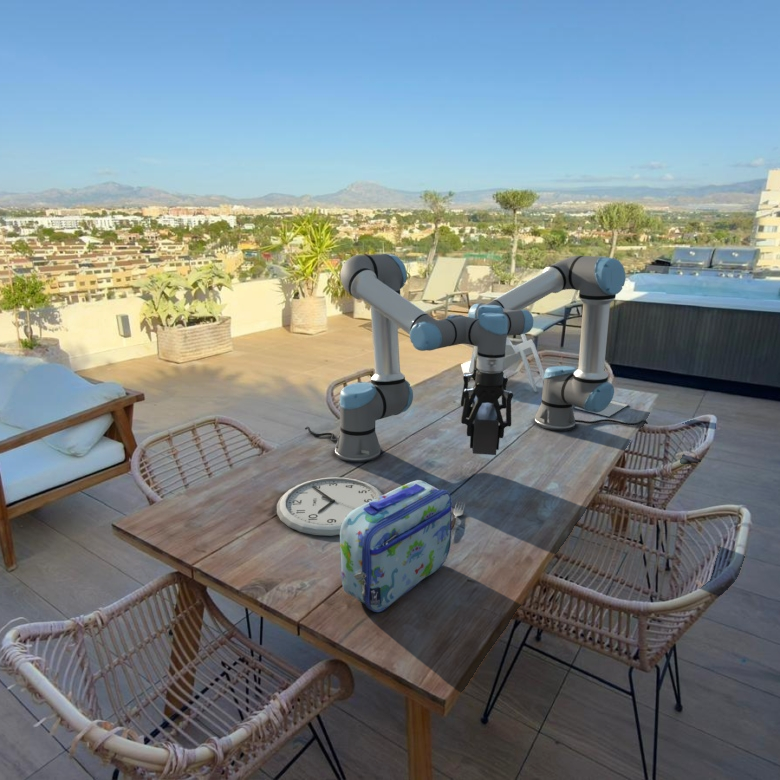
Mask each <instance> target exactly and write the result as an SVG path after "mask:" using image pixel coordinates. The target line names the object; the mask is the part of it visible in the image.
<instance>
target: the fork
mask: <svg viewBox="0 0 780 780" xmlns="http://www.w3.org/2000/svg"><path fill="white" fill-rule="evenodd" d="M458 501H459V500H457V501H456V504H455V507H454V509H453V514H452V515H454V517H453V519H451V531H452V530H453V529H454V527H455V525H456V520H457V517H461V516H463V514H464V511H465V505H466V502H463V501H459V502H458ZM460 504H461V505H460Z"/></svg>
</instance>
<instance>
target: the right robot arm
mask: <svg viewBox="0 0 780 780" xmlns="http://www.w3.org/2000/svg"><path fill="white" fill-rule="evenodd" d="M625 283H626V269H625V267H624V265H623V263H622V262H621V261H620V260H619V259H617V258H614V257H608V256H593V255H592V256H591V255H573V256H569V257H566V258H563V259H561V260H559V261H557V262H555V263H553V264H550V265H549V266H547V267H545V268H544V269H543V270H542V272H541V273H539V274H538V275H536V276H534V277H532V278H531V279H529V280H527V281H525V282H523V283H522V284H520V285H518V286H516V287H514V288H511V290H509V291H507V292H504V293H503V294H501V295H499V296H498V297H496V298H494V299H492V300H491V301H488V302H486V303H483V302H481V303H475V304H473V305H471V306H470V308H469V310H468V314H467V317H471V318H476V319H480V316H481V314H483V313H499V314H504V315H505V316H506V317H507V319H508V326H507V329H508V333H507V337H511V336H517V335H518V336H521V334H525V335H526V334H529V332H531V330H532V329H533V327H534V316H533V314H532V313H531V312H530V311H529V310H528V309H525V308H527V307H529V306H531V305H533V304H535V303H536V302H539V301H540V300H542V299H543V298H545V297H547V296H549V295H550V294H557V293H560V292H562V291H567V290H575V291H578V299H579V300H580V301H581V302H582V313H581V314H582V315H581V327H580V328H581V329H580V340H579V355H578V368H577V367H574V366H569V365H568V366H567V365H557V366H550V367H547V368H546V369H545V370H544V373H545V375H544V378H543V379H544V380H543V382H542V392H541V402H540V405H539V407H538V410H537V411H536V413H535V416H534V424H535V425H536V426H537V427H539V428H542V429H544V430H549V431H556V432H567V431H572V430H574V429H575V428H576V423H580V424H581V423H582V424H588V425H589V424H591V425H593V424H597V423H602V422H603V423H604V422H608V423H609V422H610V423H616V424H621V425H625V426H638V425H641V424H642V423H644V424H645V425H648V424H649V423H648V421H647V420H645V419H642V420H640V421H637V422H627V421H621V420H616V419H608V418H605V419H603V418H602V419H597V420H593V421H591V420H590V421H588V420H582V419H576V418H575V417H576V416H575V413H574V407H579V408H582V409H584V410H586V411H585V412H588V411H591V412H590V413H592V412H595V413H594V414H596V413H597V412H601V411H603V410H604V409H605V408H606V407H607V406H608V405H609V404H610V402H611V401H613V398H614V395H615V387H614V385H613V384H612V383H611V382H610V381H608V380H609V374H608V372H606V370H605V365H606V364H605V363H606V355H607V354H606V352H607V344H608V343H607V341H608V333H609V332H608V330H609V320H610V309H611V303H612V302H613V301H614V300H615V299H616V298H617V297H616V295H618V294H620V293H621V291H622V290H623V287H624V286H625V285H626V284H625ZM477 350H478V346H475V356H476V357H475V358H474V369H473V372H472V374H468V375H466V374H463V375H462V380H463V385H462V393H461V399H460V406H461V407H463V406H464V400H465V396H464V389H465V388H467V389H469V382H470V381H471V380H473V382H475V380H476V371H477V370H478V369H477V367H476V365H477ZM508 381H509V378H508V376H507V375H503V389H504V390H506V391H507V384H508ZM475 396H476V395H475V393H472V396H471V397H469V405H468V411H467V417H466V419H469V416H470V414H471V412H472V410H473V408H472V403H473V400H474V398H475ZM497 401H498V404H499V408H500V411H501V410H503V409H505V410H506V399H505V397H504V394H503V395H502V396H501V403H500V402H499V399H498V400H497ZM573 406H574V407H573ZM584 410H583V411H584Z"/></svg>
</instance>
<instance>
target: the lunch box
mask: <svg viewBox="0 0 780 780" xmlns="http://www.w3.org/2000/svg"><path fill="white" fill-rule="evenodd" d="M383 494H384V495H382V496H380V497H378V498H376V499H374V500H372V501H370V502H368V503H366V504H364V505H362V506H360V507H358V508H356V509H354V510H353V511H351V512H350V513H349V514H348V515H347V516H346V518H345V519H344V521H343V523H342V526H341V530H340V535H339V551H340V574H341V576H340V577H341V585H342V588H343V589H342V590H343V591H344V593H346V594H348V595H350V596H352V597H353V598H355V599H357V600H358V601H359V602H361V603H362V604H364V605H365V606H366V608H367V609H369V610H370V611H371V612H374V613H381V612H384V611H385V610H386V609H387V608H389V607H390V606H391V605H392V604H393V603H395V602H396V601H397V600H399V599H400V598H401V597H402V596H404V595H405V594H407V593H408V592H410V591H411V590H412V589H413V588H415V587H416V586H417V585H418V584H419V583H420V582H421V581H423V580H425V579H426V578H427V577H429V576H430V575H432V574H434V573H435V572H436V571H438V570H439V569H440V568H441V567H442V566H443V565H444V563H445V562H446V560H447V558H448V556H449V553H450V550H451V549H450V548H451V545H452V543H451V542H452V530H451V522H452V497H451V494H450V492H449V491H448V490H446V489H438V488H437V487H435V486H434V485H431V484H429V483H427V482H426V481H424V480H421V479H416V480H413V481H410V482H408V483H405V484H403V485H401V486H399V487H397V488H394V489H393V490H390V491H388V492H387V493H383Z"/></svg>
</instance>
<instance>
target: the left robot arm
mask: <svg viewBox="0 0 780 780" xmlns="http://www.w3.org/2000/svg"><path fill="white" fill-rule="evenodd" d="M407 278H408V273H407V268H406V265H405V263H404V262H403V260H401V258H400V257H399V256H397V255H395V254H389V253H381V254H380V253H377V254H372V253H371V254H356V255H353V256H351V257H349V258H348V259H347V260H346V261H345V262H344V263H343V265H342V266H341V269H340V282H341V284H342V286H343V288H344V290H345V291H346V292H347V293H348V294H349V295H350V296H352V297H353V298H354V299H356V300H359V301H361V300H362V301H364V302H365V303H367V304H368V305H369V306H370V318H371V331H372V333H371V334H372V345H373V346H372V347H373V359H374V360H373V361H374V374H373V375H372V376H371V378H370V382H366V381H361V382H354V383H349V384H347V385H346V386H343V388H342V389H341V390H340V394H339V425H340V427H339V428H340V429H339V430H340V431H339V435H338V437H337V438H335V434H334V433H332V432H322V433H315V432H313V431H312V430H311V428H310V426H305V428H304V430H307V431H308V433H309V434H310V435H312V436H314V437H322V436H331V437H330V441H331V442H336V443H335V447H334V455H335V456H336V458H338V459H339V460H341V461H345V462H349V463H365V462H370V461H374V460H376V459H378V458H379V457H380V456H381V451H382V450H381V449H382V448H381V445H380V442H379V439H378V435H377V432H376V421H379V420H382V419H385V418H389V417H393V416H398V415H400V414H402V413H404V412H406V411H408V409H410V408H411V406H412V403H413V400H414V391H413V387H412V386H411V384H410V382H409V381H408V380H406V376H405V374H404V373H403V372H401V362H400V345H399V344H400V341H399V328H400V329H401V330H403V331H404V332H405V333H407V334H408V335H409V340H410V343H411V344H412V346H413V347H414V348H415V350H417V351H420V352H425V351H429V352H430V351H435V350H439V349H443V348H447V347H452V346H459V345H463V344H464V345H469V346H473V347H474V346H478V350H477V365H476V367H477V369H478V370H477V371H476V380H475V381H474V385H473V387H472V388H468V389H467V388H465V389H464V396H465V400H464V406H462V412H461V416H460V417H461V419H460V422H461V423H460V424H462V425H466V437H469V448H470V449H472V448H473V437H474V424H472V423H473V421H474V419H475V417H476V415H477V413H478V410H479V408H480V406H481V405H482V403H487V402H488V403H494V407H495V410H496V413H497V417H498V418H499V427H498V439H497V450H496V451H499V448H500V439H504V436H505V435H504V434H505V429H506V428H507V427H511V426H512V400H513V397H514V392H513V391H512V390H507V389H506V390H504V389H503V376H505V374H504V373H505V372H504V371H505V370H504V362H505V348H506V339H508V338H507V337H508V336H507V333H508V329H507V326H508V319H507V317H506V316H505V315H504V314H499V313H483V314H481V316H480V319H476V318H471V317H468V316H466V315H463V314H451V315H450V314H449V316H447V317H446V318H444V319H436V318H434V317H433V316H431V315H430V314H428V313H427V312H425V311H424V310H422V309H421V308H419V307H418V306H417V305H415V304H414V303H412V302H411V301H410V300H408V299H407V298H405V296H403V295H401V290H402V289H403V288H404V287H405V285H406V282H407ZM503 370H504V371H503ZM472 393H475V395H476V396H477V400H476V403H475V405H474V408H473V410H472V412H471V414H470V416H469V418H466V417H467V411H468V405H469V397H471V396H472ZM503 394H504V397H505V399H506V408H505V420H504V418H503V415H502V412H501V410H500V408H499V404H500V403H499V404H498V402H499V399H500V398H502V395H503ZM497 400H498V401H497Z"/></svg>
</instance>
